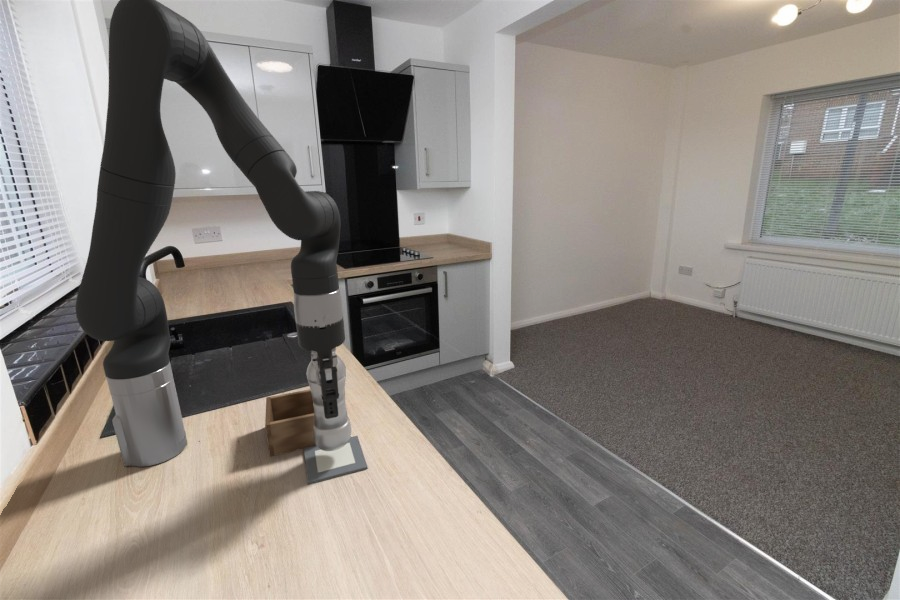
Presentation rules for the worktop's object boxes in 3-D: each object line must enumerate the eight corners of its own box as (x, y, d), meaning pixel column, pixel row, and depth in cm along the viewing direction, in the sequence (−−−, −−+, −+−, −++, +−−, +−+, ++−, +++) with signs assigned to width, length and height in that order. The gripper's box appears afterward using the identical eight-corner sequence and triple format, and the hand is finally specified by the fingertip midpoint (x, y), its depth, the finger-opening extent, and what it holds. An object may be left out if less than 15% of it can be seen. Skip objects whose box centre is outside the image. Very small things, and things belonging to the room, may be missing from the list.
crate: (269, 456, 76) (265, 425, 74) (270, 425, 86) (266, 397, 84) (331, 442, 80) (328, 412, 78) (325, 413, 90) (322, 387, 88)
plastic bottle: (307, 445, 74) (294, 342, 68) (341, 429, 79) (331, 331, 73) (325, 461, 70) (313, 352, 64) (359, 443, 74) (350, 341, 69)
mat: (307, 484, 69) (307, 481, 68) (304, 449, 78) (303, 447, 77) (367, 468, 72) (367, 466, 72) (357, 437, 81) (357, 435, 81)
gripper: (293, 308, 72) (304, 393, 77) (297, 334, 60) (310, 435, 64) (337, 302, 75) (344, 385, 80) (349, 327, 62) (358, 424, 67)
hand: (329, 407), depth 72 cm, fingers closed on plastic bottle, 6 cm apart
